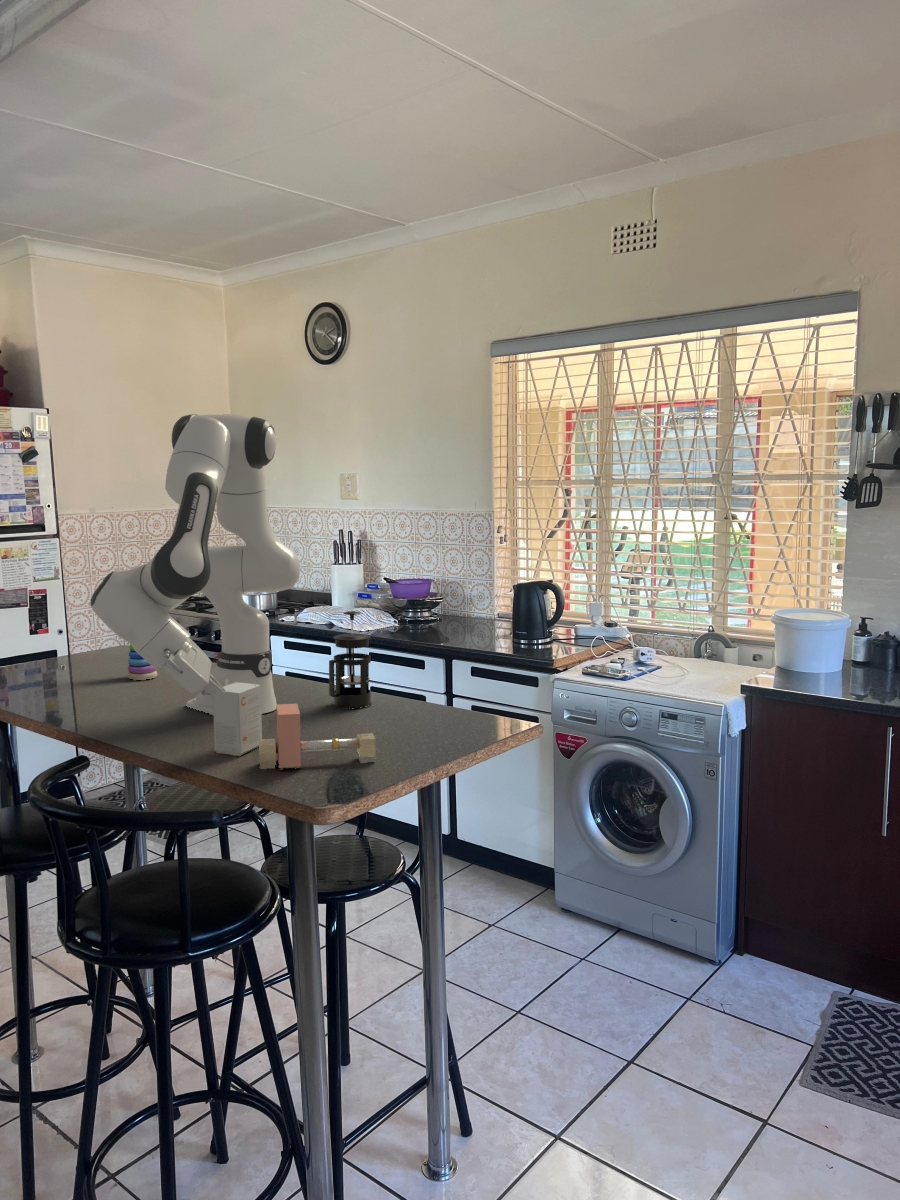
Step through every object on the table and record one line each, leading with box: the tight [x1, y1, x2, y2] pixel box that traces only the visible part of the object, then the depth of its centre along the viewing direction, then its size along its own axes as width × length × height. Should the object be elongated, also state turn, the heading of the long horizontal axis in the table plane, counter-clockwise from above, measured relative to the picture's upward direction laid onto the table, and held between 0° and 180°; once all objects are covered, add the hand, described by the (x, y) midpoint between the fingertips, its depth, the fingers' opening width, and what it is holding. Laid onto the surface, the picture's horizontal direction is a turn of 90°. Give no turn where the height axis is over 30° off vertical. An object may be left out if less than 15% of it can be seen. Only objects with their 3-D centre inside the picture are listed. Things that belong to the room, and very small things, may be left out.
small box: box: [212, 682, 263, 753], centre depth 182 cm, size 8×6×13 cm
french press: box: [328, 610, 373, 710], centre depth 219 cm, size 12×9×23 cm
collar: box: [275, 703, 302, 769], centre depth 172 cm, size 4×8×10 cm, turn 13°
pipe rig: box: [258, 732, 376, 767], centre depth 174 cm, size 22×4×5 cm, turn 103°
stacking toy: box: [126, 643, 158, 681], centre depth 246 cm, size 8×8×19 cm
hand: (223, 695), depth 168 cm, fingers closed
